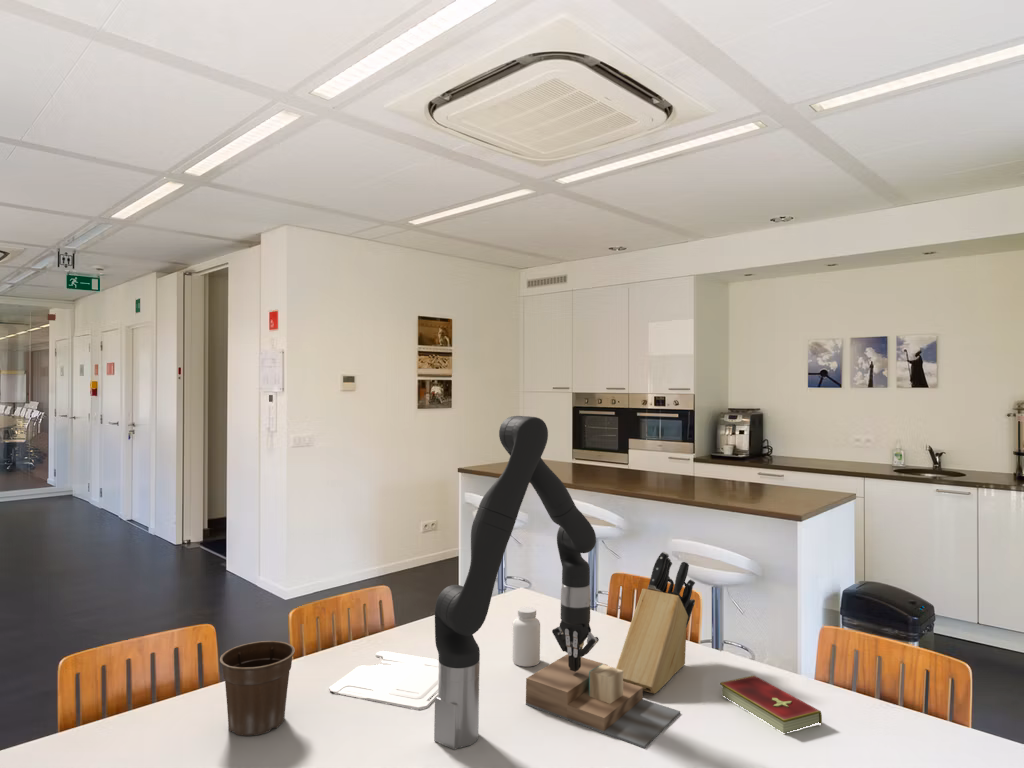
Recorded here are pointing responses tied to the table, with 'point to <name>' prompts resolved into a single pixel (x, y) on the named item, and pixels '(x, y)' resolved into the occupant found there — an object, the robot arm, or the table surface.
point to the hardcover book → (771, 703)
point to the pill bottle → (526, 638)
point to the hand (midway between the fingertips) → (574, 670)
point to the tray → (393, 681)
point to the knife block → (658, 629)
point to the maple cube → (606, 683)
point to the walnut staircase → (596, 703)
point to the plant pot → (256, 685)
